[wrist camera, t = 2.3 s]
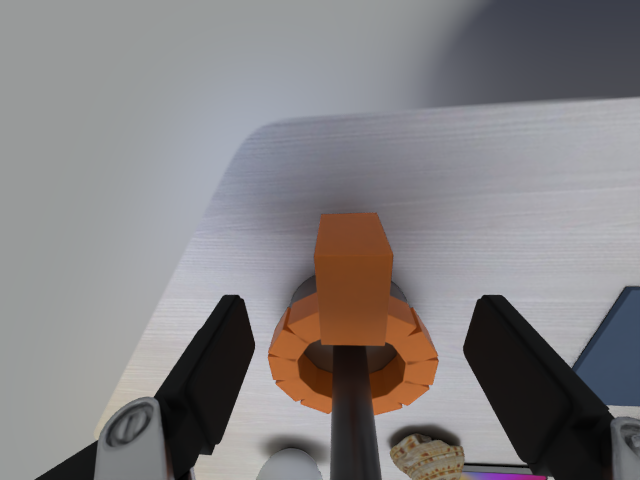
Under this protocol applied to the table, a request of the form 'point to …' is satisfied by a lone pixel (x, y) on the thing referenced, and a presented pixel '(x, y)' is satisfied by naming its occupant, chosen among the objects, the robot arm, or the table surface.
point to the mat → (615, 354)
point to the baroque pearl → (290, 466)
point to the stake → (351, 398)
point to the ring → (353, 319)
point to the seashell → (428, 458)
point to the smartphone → (498, 473)
